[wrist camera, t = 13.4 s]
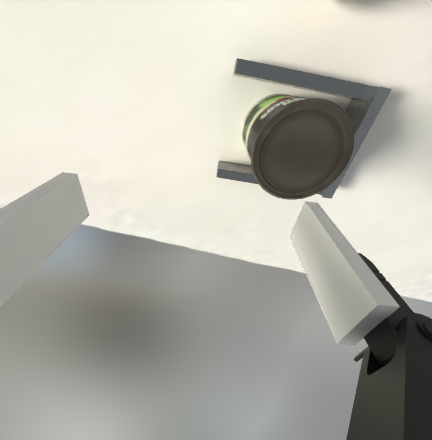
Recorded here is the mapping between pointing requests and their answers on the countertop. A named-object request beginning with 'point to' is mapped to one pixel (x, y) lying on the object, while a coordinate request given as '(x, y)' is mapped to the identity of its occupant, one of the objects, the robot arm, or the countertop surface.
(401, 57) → the countertop surface
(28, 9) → the countertop surface
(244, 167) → the grey u-shaped frame
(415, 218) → the countertop surface
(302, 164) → the coffee can
